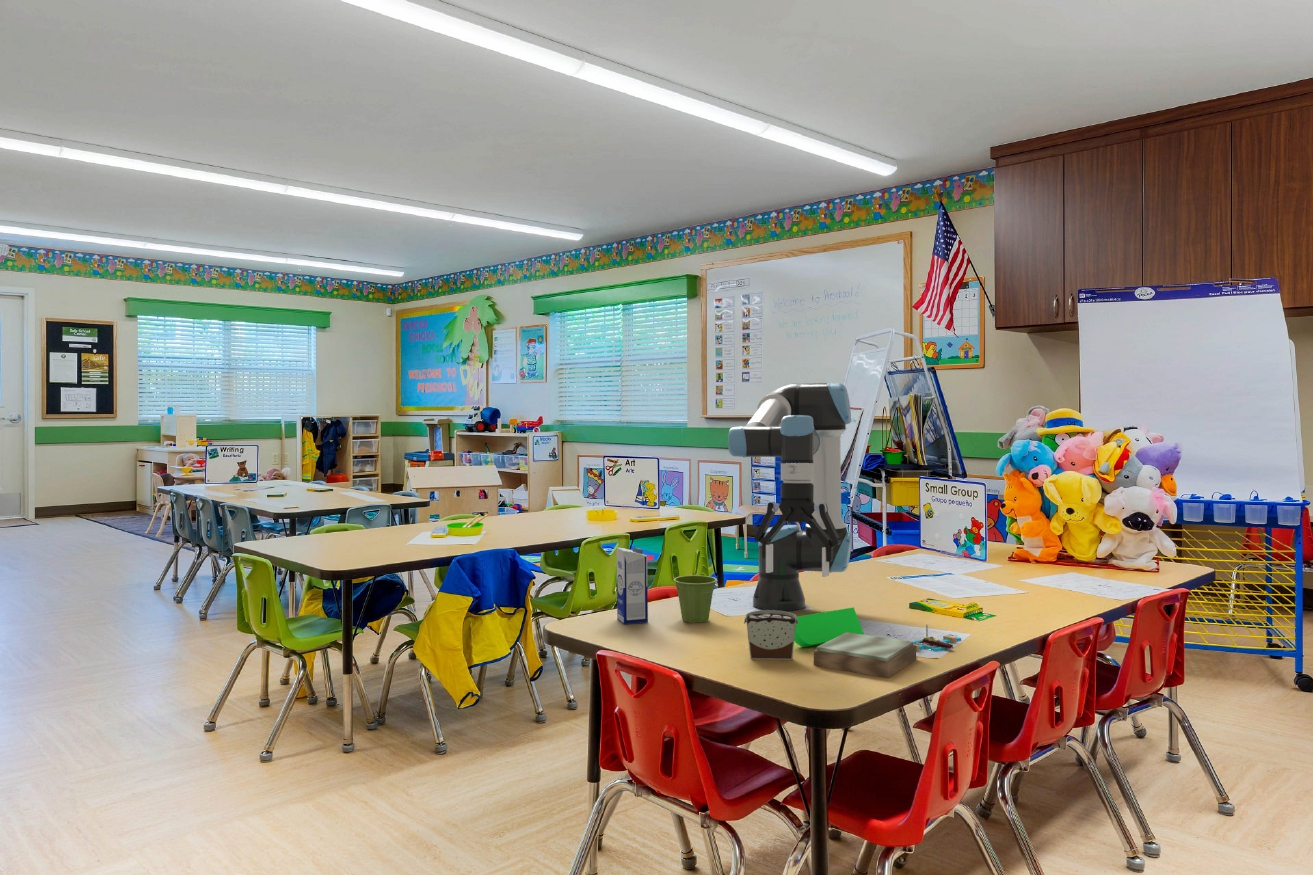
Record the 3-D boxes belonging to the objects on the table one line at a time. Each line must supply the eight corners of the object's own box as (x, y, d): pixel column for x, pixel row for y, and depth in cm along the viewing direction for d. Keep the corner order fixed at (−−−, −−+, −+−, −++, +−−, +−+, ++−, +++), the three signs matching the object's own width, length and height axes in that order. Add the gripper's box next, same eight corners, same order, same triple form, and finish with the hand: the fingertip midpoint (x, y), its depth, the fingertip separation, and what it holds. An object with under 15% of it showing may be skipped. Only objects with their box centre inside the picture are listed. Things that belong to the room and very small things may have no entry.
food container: (797, 652, 200) (796, 609, 200) (798, 659, 194) (798, 615, 193) (744, 651, 201) (743, 609, 201) (744, 658, 195) (743, 615, 195)
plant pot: (669, 624, 229) (668, 582, 229) (679, 614, 241) (679, 574, 241) (712, 626, 226) (712, 583, 226) (721, 616, 238) (720, 576, 237)
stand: (813, 665, 189) (813, 647, 189) (845, 648, 203) (845, 631, 203) (888, 677, 179) (888, 658, 179) (916, 659, 193) (916, 641, 193)
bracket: (840, 647, 219) (830, 620, 223) (864, 635, 212) (853, 607, 215) (779, 658, 209) (770, 630, 212) (802, 645, 202) (792, 616, 205)
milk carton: (617, 618, 236) (616, 546, 236) (640, 616, 238) (639, 545, 238) (624, 624, 229) (623, 549, 229) (648, 622, 231) (647, 548, 231)
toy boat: (978, 646, 206) (946, 638, 213) (977, 624, 205) (945, 617, 213) (921, 659, 195) (889, 650, 203) (921, 636, 195) (889, 627, 203)
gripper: (741, 481, 202) (740, 572, 201) (844, 483, 189) (845, 579, 189) (753, 481, 208) (753, 568, 208) (854, 482, 196) (854, 576, 195)
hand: (797, 574), depth 198 cm, fingers open, 13 cm apart
